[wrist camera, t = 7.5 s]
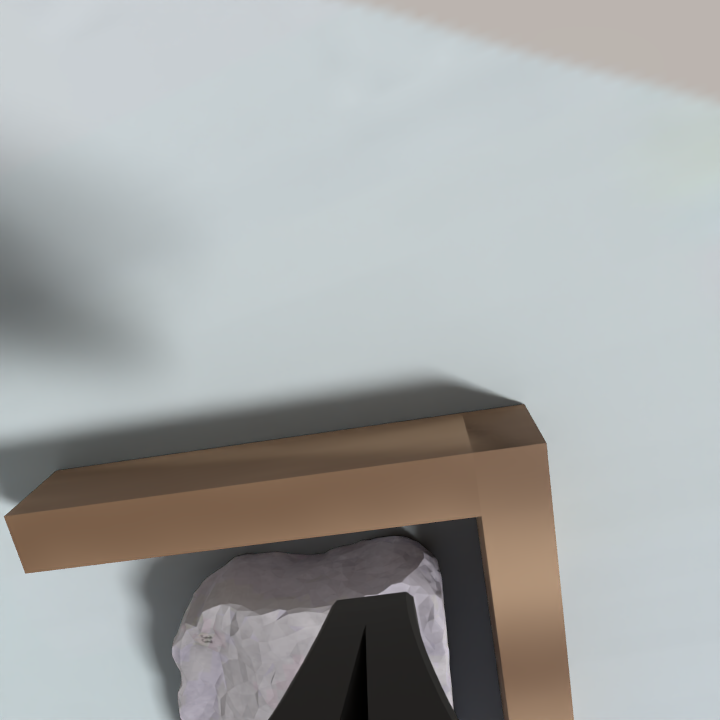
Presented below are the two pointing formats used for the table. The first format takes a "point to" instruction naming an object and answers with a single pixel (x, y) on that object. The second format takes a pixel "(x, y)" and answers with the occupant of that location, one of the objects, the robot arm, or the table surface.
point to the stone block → (291, 621)
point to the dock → (339, 517)
